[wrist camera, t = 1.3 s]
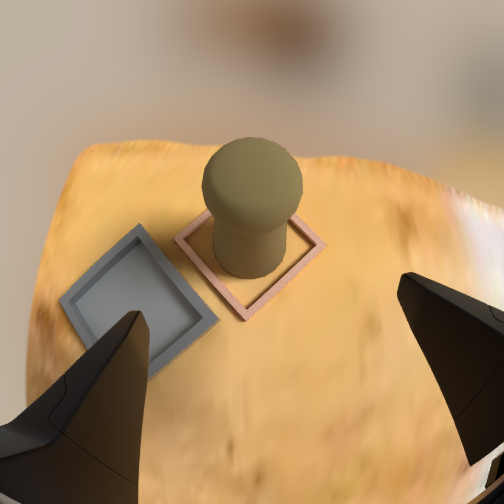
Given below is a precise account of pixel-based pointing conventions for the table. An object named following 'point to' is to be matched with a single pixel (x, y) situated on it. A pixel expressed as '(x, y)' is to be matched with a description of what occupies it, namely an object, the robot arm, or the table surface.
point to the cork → (251, 204)
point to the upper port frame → (272, 291)
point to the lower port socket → (139, 299)
